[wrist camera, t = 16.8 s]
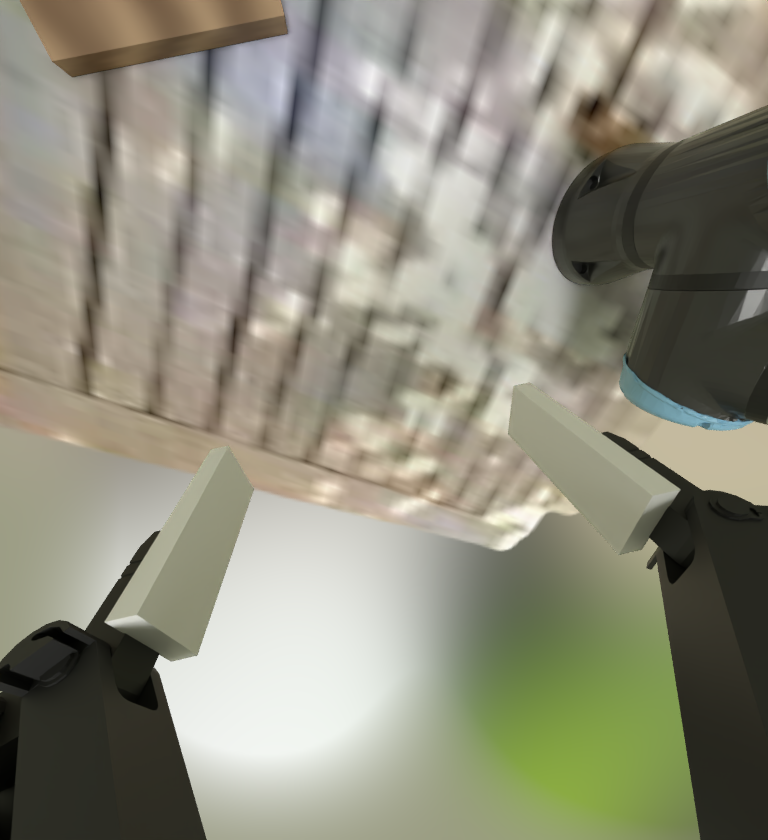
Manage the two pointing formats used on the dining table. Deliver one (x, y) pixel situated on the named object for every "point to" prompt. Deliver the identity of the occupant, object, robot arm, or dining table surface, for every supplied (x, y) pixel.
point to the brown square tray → (146, 29)
